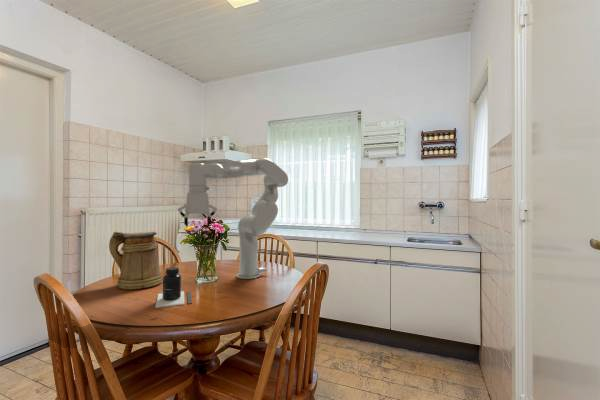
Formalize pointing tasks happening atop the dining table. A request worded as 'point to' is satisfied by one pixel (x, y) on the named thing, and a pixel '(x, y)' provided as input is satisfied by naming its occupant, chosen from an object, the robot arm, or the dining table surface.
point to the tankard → (136, 259)
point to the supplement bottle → (172, 284)
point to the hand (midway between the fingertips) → (197, 226)
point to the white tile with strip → (180, 301)
